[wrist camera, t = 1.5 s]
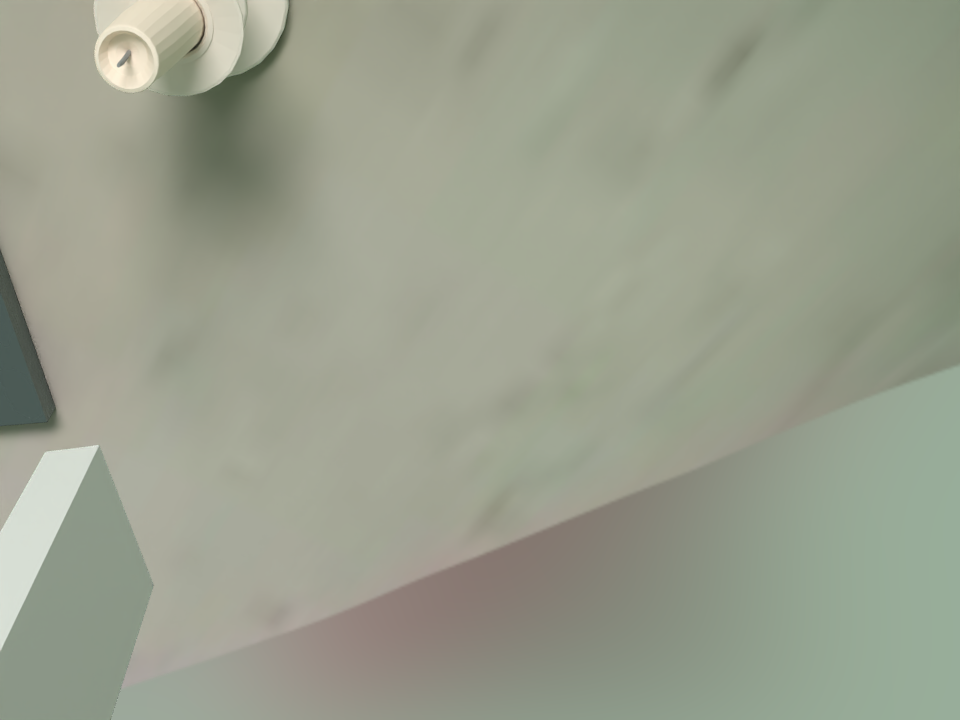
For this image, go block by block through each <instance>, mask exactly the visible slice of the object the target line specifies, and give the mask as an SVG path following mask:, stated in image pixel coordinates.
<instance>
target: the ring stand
mask: <svg viewBox="0 0 960 720" xmlns="http://www.w3.org/2000/svg"><path fill="white" fill-rule="evenodd" d="M54 409H55V405H54V402H53V399H52V396H51V393H50V391H49V388H48V385H47V382H46V379H45V376H44V374H43V371H42V368H41V365H40V362H39V359H38V356H37V354H36V351H35V348H34V345H33V342H32V339H31V336H30V334H29V331H28V328H27V325H26V322H25V319H24V317H23V314H22V311H21V308H20V305H19V302H18V299H17V297H16V294H15V291H14V288H13V285H12V282H11V279H10V277H9V274H8V271H7V268H6V265H5V262H4V260H3V257H2V254H1V251H0V426H5V425H17V424H29V423H41V422H47V421H48V420H49V418H50V416H51V415H52V413H53V411H54Z"/></svg>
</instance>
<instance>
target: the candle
mask: <svg viewBox="0 0 960 720" xmlns="http://www.w3.org/2000/svg"><path fill="white" fill-rule="evenodd" d="M288 9H289V0H94V9H93V11H94V18H95V24H96V30H97V33H98V35H99V38H98V40H97V42H96V45H95V52H94V56H95V63H96V66H97V69H98V72H99V73H100V75H101V76H102V78H103V79H104V80H105V81H106V82H107V83H108V84H109V85H110V86H112V87H113V88H115V89H117V90H119V91H122V92H125V93H137V92H141V91H144V90H145V89H148V90H150V91H154V92H157V93H161V94H164V95H168V96H191V95H195V94H199V93H203V92H206V91H208V90H209V89H211V88H213V87H215V86H216V85H218V84H220V83H221V82H222V81H223V80H224V79H225V78H226V77H230V76H234V75H238V74H242V73H244V72H246V71H248V70H249V69H251V68H253V67H254V66H256V65H258V64H260V63H261V62H262V61H263V60H264V59H265V57H266V56H267V55H268V54H269V53H270V52H271V51H272V50H273V49H274V48H275V46H276V44H277V42H278V40H279V38H280V36H281V34H282V32H283V30H284V28H285V24H286V19H287V14H288Z"/></svg>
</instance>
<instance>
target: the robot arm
mask: <svg viewBox="0 0 960 720" xmlns="http://www.w3.org/2000/svg"><path fill="white" fill-rule="evenodd" d="M153 586H154V585H153V582H152V579H151V577H150V574H149V572H148V569H147V567H146V564H145V562H144V559H143V556H142V554H141V551H140V549H139V546H138V544H137V541H136V538H135V536H134V533H133V531H132V528H131V526H130V523H129V520H128V518H127V515H126V513H125V510H124V508H123V505H122V502H121V500H120V497H119V495H118V492H117V490H116V487H115V484H114V482H113V479H112V477H111V474H110V472H109V469H108V467H107V464H106V461H105V459H104V456H103V454H102V451H101V449H100V446H99V445H96V446H88V447H80V448H72V449H64V450H56V451H48V452H45V453H44V455H43V457H42V459H41V461H40V462H39V464H38V466H37V468H36V469H35V471H34V473H33V475H32V477H31V478H30V480H29V482H28V484H27V486H26V487H25V489H24V491H23V493H22V494H21V496H20V498H19V500H18V502H17V503H16V505H15V507H14V509H13V510H12V512H11V514H10V516H9V518H8V519H7V521H6V523H5V525H4V527H3V528H2V530H1V532H0V720H111V717H112V714H113V711H114V708H115V705H116V702H117V699H118V695H119V692H120V689H121V686H122V683H123V680H124V677H125V674H126V670H127V667H128V664H129V661H130V658H131V655H132V652H133V649H134V645H135V642H136V639H137V636H138V633H139V630H140V627H141V624H142V620H143V617H144V614H145V611H146V608H147V605H148V602H149V598H150V595H151V592H152V589H153Z"/></svg>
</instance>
